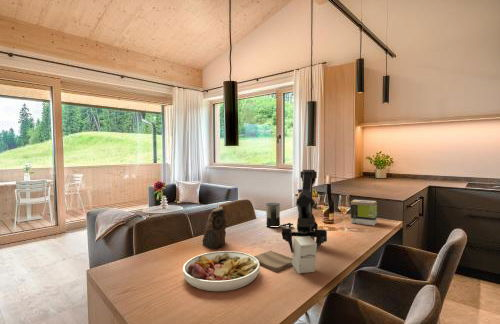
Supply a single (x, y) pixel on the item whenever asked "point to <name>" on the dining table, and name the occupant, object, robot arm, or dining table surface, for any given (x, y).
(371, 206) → the tea box
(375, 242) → the dining table surface
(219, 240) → the owl
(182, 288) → the dining table surface
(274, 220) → the milk frother
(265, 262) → the walnut board
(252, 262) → the bowl
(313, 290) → the dining table surface
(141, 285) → the dining table surface
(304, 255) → the supplement box
